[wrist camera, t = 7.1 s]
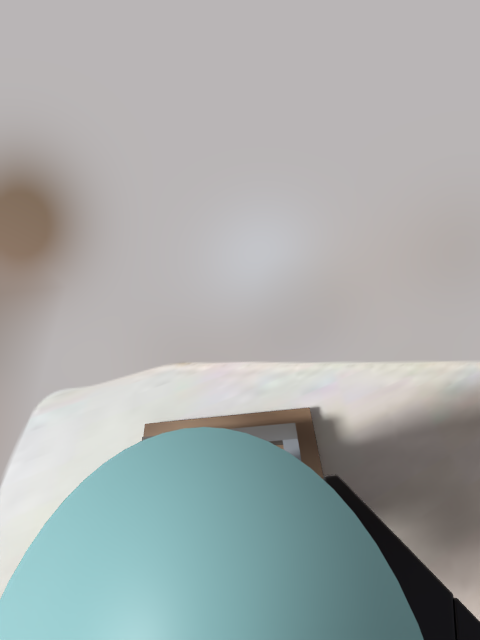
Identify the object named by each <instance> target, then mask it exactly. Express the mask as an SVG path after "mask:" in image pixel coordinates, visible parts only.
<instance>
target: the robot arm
mask: <svg viewBox="0 0 480 640" xmlns="http://www.w3.org/2000/svg"><path fill="white" fill-rule="evenodd" d="M323 480H324V481H325V482H326V483H327V484H328V485H330V486H331V487H332V488H333V489H334V490H335V492H336V493H337V494H338V495H339V496H340V497H341V498H342V500H343V501H344V502H345V503H346V504H347V505H348V506H349V507H350V509H351V510H352V511H353V512H354V513H355V515H356V516H357V517H358V519H359V520H360V522H361V523H362V524H363V526H364V527H365V529H366V530H367V531H368V533H369V534H370V536H371V537H372V538H373V540H374V541H375V543H376V544H377V546H378V547H379V549H380V551H381V553H382V554H383V556H384V558H385V560H386V561H387V563H388V565H389V566H390V568H391V570H392V572H393V573H394V575H395V577H396V579H397V580H398V582H399V584H400V587H401V589H402V591H403V593H404V595H405V597H406V599H407V602H408V604H409V606H410V608H411V610H412V612H413V614H414V617H415V619H416V621H417V623H418V625H419V628H420V631H421V633H422V636H423V639H424V640H480V621H479V620H478V619H477V618H476V617H475V616H474V615H473V614H472V613H471V612H470V611H469V610H468V609H467V608H466V607H465V606H464V605H463V604H462V603H461V602H460V601H459V600H458V599H457V598H453V594H452V593H451V592H450V591H449V590H448V589H447V588H446V586H445V585H444V584H443V583H442V582H441V581H440V580H439V579H438V578H437V577H436V576H435V575H434V574H433V573H432V572H431V571H430V570H429V569H428V568H427V567H426V566H425V565H424V564H423V563H422V562H421V561H420V560H419V559H418V558H417V557H416V556H415V555H414V553H413V552H412V551H411V550H410V549H409V548H408V547H407V546H406V545H405V544H404V543H403V542H402V541H401V540H400V539H399V538H398V537H397V536H396V535H395V534H394V533H393V532H392V531H391V530H390V529H389V528H388V527H387V526H386V525H385V524H384V523H383V522H382V520H381V519H380V518H379V517H378V516H377V515H376V514H375V513H374V512H373V511H372V510H371V509H370V508H369V507H368V506H367V505H366V504H365V503H364V502H363V501H362V500H361V499H360V498H359V497H358V496H357V495H356V494H355V493H354V492H353V491H352V490H351V488H350V487H349V486H348V485H347V484H346V483H345V482H344V481H343V480H342V479H341V478H340V477H339V476H338V475H327V476H324V478H323Z"/></svg>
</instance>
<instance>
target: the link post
mask: <svg viewBox="0 0 480 640" xmlns="http://www.w3.org/2000/svg"><path fill="white" fill-rule="evenodd" d="M0 640H424V639H423V636H422V633H421V631H420V628H419V625H418V623H417V621H416V619H415V617H414V614H413V612H412V610H411V608H410V606H409V604H408V602H407V599H406V597H405V595H404V593H403V591H402V589H401V587H400V584H399V582H398V580H397V579H396V577H395V575H394V573H393V572H392V570H391V568H390V566H389V565H388V563H387V561H386V560H385V558H384V556H383V554H382V553H381V551H380V549H379V547H378V546H377V544H376V543H375V541H374V540H373V538H372V537H371V536H370V534H369V533H368V531H367V530H366V529H365V527H364V526H363V524H362V523H361V522H360V520H359V519H358V517H357V516H356V515H355V513H354V512H353V511H352V510H351V509H350V507H349V506H348V505H347V504H346V503H345V502H344V501H343V500H342V498H341V497H340V496H339V495H338V494H337V493H336V492H335V490H334V489H333V488H332V487H331V486H330V485H328V484H327V483H326V482H325V481H324V480H323V479H322V478H321V477H320V476H319V475H318V474H316V473H315V472H314V471H313V470H312V469H311V468H310V467H308V466H307V465H305V464H304V463H303V462H301V461H300V460H298V459H297V458H296V457H294V456H293V455H292V454H290V453H289V452H287V451H285V450H283V449H281V448H279V447H277V446H276V445H274V444H272V443H270V442H268V441H266V440H263V439H260V438H258V437H255V436H252V435H250V434H247V433H243V432H239V431H234V430H230V429H225V428H211V427H198V428H184V429H179V430H175V431H170V432H165V433H162V434H159V435H156V436H154V437H151V438H148V439H145V440H143V441H141V442H139V443H137V444H135V445H133V446H131V447H129V448H127V449H125V450H123V451H122V452H120V453H119V454H117V455H116V456H114V457H113V458H111V459H110V460H108V461H107V462H105V463H104V464H103V465H101V466H100V467H99V468H98V469H97V470H96V471H94V472H93V473H92V474H91V475H90V476H88V477H87V478H86V479H85V480H84V481H83V482H82V483H81V484H80V485H79V486H78V487H77V488H76V489H75V490H74V491H73V492H72V493H71V494H70V495H69V496H68V497H67V498H66V499H65V500H64V501H63V503H62V504H61V505H60V506H59V507H58V509H57V510H56V511H55V512H54V514H53V515H52V516H51V517H50V518H49V520H48V521H47V522H46V523H45V525H44V526H43V528H42V529H41V531H40V532H39V534H38V535H37V537H36V538H35V539H34V541H33V542H32V544H31V545H30V547H29V548H28V550H27V551H26V553H25V555H24V556H23V558H22V560H21V562H20V563H19V565H18V567H17V569H16V570H15V572H14V574H13V575H12V577H11V579H10V581H9V583H8V585H7V587H6V589H5V591H4V593H3V595H2V597H1V599H0Z"/></svg>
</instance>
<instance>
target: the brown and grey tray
mask: <svg viewBox="0 0 480 640" xmlns="http://www.w3.org/2000/svg"><path fill="white" fill-rule="evenodd" d="M198 427H211V428H225V429H230V430H234V431H239V432H243V433H247V434H250V435H252V436H255V437H258V438H260V439H263V440H266V441H268V442H270V443H272V444H274V445H276V446H277V447H279V448H281V449H283V450H285V451H287V452H289V453H290V454H292V455H293V456H294V457H296V458H297V459H298V460H300V461H301V462H303V463H304V464H305V465H307V466H308V467H310V468H311V469H312V470H313V471H314V472H315V473H316V474H318V475H319V476H320V477H321V478H322V479H323V478H324V477H323V472H322V467H321V462H320V457H319V452H318V447H317V442H316V437H315V432H314V427H313V422H312V417H311V412H310V408H302V409H292V410H282V411H271V412H261V413H251V414H241V415H231V416H221V417H211V418H200V419H190V420H180V421H170V422H160V423H150V424H145V428H144V436H143V437H142V441H143V440H145V439H148V438H151V437H154V436H156V435H159V434H162V433H165V432H170V431H175V430H179V429H184V428H198Z"/></svg>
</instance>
